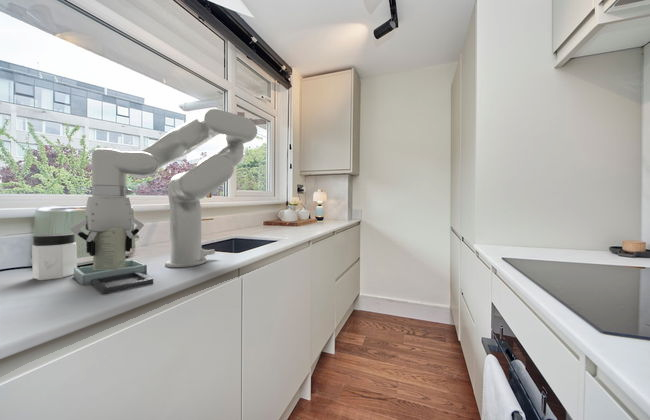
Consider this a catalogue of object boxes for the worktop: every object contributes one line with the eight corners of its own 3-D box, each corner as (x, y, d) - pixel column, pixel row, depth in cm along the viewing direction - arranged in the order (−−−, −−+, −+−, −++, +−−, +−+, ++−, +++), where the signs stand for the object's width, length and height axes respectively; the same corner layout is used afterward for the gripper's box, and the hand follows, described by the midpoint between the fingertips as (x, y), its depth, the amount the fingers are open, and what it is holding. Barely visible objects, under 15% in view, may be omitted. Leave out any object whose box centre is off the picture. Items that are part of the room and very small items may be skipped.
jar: (26, 282, 66) (25, 237, 66) (38, 275, 73) (37, 234, 73) (73, 277, 71) (72, 235, 71) (80, 270, 78) (79, 232, 78)
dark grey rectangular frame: (137, 275, 73) (137, 271, 73) (153, 283, 66) (153, 278, 66) (91, 284, 65) (91, 279, 65) (103, 294, 58) (103, 289, 58)
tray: (133, 267, 83) (133, 259, 82) (146, 273, 75) (146, 265, 75) (73, 276, 71) (73, 268, 71) (82, 285, 64) (82, 275, 64)
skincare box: (125, 267, 76) (128, 227, 76) (116, 270, 71) (119, 227, 72) (101, 267, 74) (104, 226, 75) (90, 270, 70) (93, 226, 70)
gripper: (140, 194, 82) (141, 247, 82) (64, 191, 68) (65, 256, 68) (149, 193, 77) (149, 250, 78) (69, 190, 64) (70, 260, 64)
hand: (110, 252), depth 73 cm, fingers closed on skincare box, 7 cm apart
